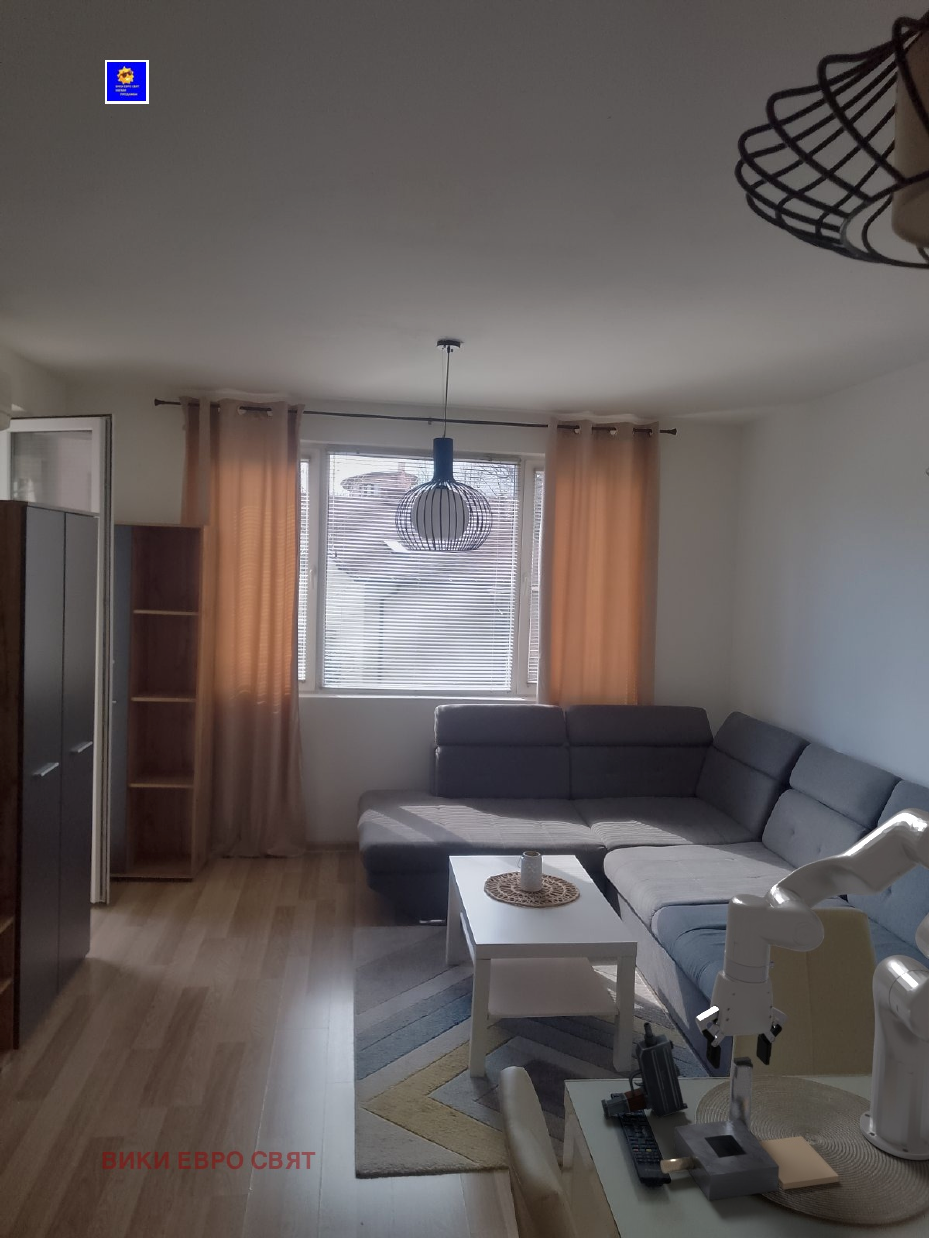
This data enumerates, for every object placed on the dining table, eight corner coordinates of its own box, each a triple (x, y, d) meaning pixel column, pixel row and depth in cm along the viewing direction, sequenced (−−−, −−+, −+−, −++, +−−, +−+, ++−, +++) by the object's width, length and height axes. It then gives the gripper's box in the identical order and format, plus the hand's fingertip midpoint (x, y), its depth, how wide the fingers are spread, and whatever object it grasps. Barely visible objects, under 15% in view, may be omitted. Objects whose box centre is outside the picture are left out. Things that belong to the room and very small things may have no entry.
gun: (586, 1038, 154) (664, 1013, 156) (606, 1123, 155) (683, 1098, 157) (590, 1046, 151) (669, 1021, 153) (610, 1133, 153) (688, 1107, 155)
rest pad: (801, 1141, 149) (801, 1135, 149) (838, 1181, 139) (838, 1175, 139) (749, 1148, 146) (749, 1142, 146) (783, 1189, 137) (783, 1183, 137)
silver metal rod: (742, 1121, 154) (746, 1052, 153) (753, 1134, 150) (757, 1063, 149) (724, 1123, 153) (727, 1053, 152) (735, 1136, 149) (738, 1065, 149)
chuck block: (737, 1141, 148) (738, 1118, 148) (777, 1190, 136) (779, 1165, 136) (646, 1152, 144) (647, 1129, 144) (679, 1204, 133) (680, 1179, 132)
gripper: (777, 956, 156) (769, 1047, 156) (690, 959, 152) (683, 1053, 153) (802, 975, 148) (794, 1071, 149) (711, 980, 144) (703, 1078, 145)
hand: (738, 1062), depth 151 cm, fingers open, 9 cm apart
